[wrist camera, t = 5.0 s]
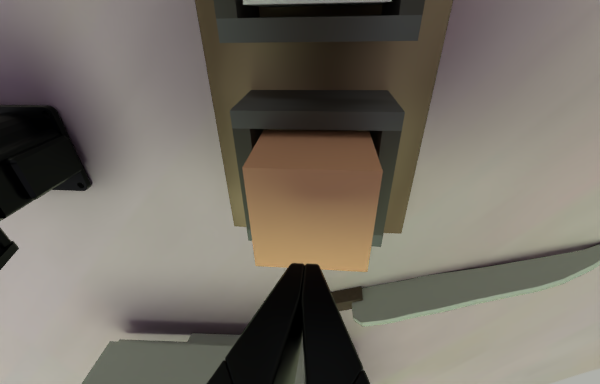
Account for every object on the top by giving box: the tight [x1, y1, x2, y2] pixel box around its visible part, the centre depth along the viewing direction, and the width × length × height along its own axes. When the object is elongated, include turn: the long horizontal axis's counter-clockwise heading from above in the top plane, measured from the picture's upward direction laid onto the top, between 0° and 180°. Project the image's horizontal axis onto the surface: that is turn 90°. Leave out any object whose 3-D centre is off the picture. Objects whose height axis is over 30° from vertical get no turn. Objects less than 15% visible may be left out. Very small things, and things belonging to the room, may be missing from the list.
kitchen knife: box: [331, 244, 600, 327], centre depth 24 cm, size 4×1×30 cm
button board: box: [195, 0, 453, 247], centre depth 14 cm, size 12×22×6 cm, turn 1°
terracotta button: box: [242, 130, 383, 272], centre depth 13 cm, size 5×5×4 cm
